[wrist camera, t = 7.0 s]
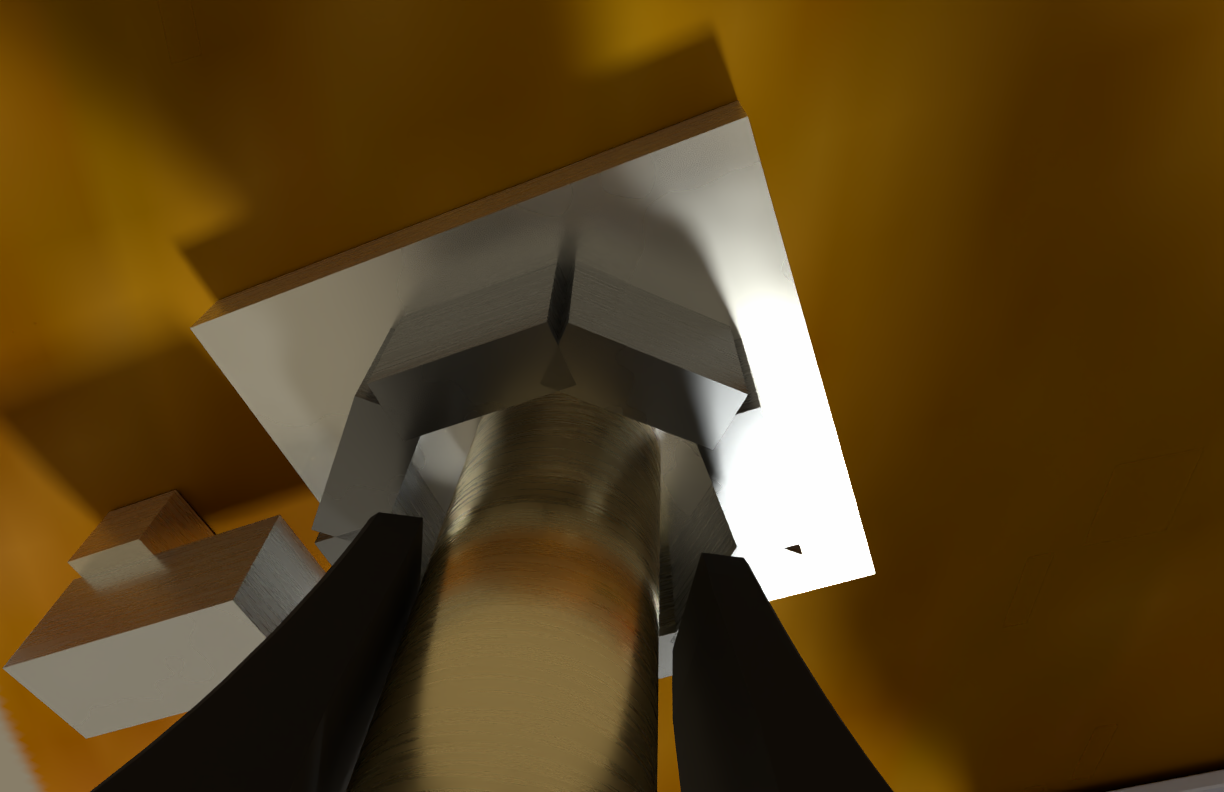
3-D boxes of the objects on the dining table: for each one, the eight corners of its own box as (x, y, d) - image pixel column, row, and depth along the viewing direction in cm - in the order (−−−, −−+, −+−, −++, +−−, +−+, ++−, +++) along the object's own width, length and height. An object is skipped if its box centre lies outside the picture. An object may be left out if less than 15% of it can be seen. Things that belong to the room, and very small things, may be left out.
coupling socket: (737, 100, 11) (778, 166, 9) (914, 724, 19) (967, 870, 16) (-16, 390, 14) (-178, 515, 11) (402, 834, 22) (369, 976, 19)
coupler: (631, 357, 12) (591, 863, 6) (680, 510, 14) (692, 1041, 7) (445, 400, 13) (222, 898, 6) (512, 541, 15) (387, 1056, 8)
